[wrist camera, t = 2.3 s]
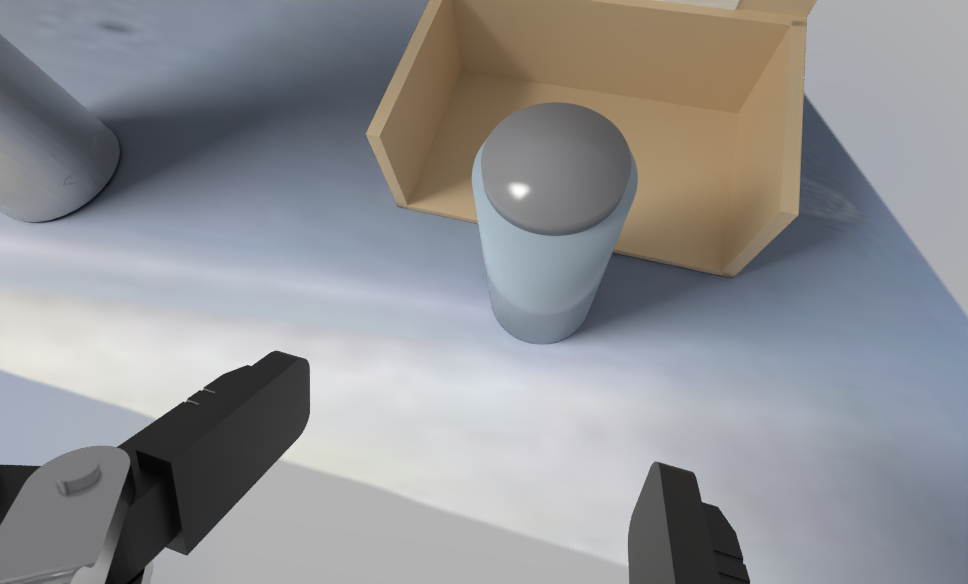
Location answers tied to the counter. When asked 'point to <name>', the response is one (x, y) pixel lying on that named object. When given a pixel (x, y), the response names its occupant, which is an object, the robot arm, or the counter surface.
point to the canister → (550, 215)
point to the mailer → (615, 110)
